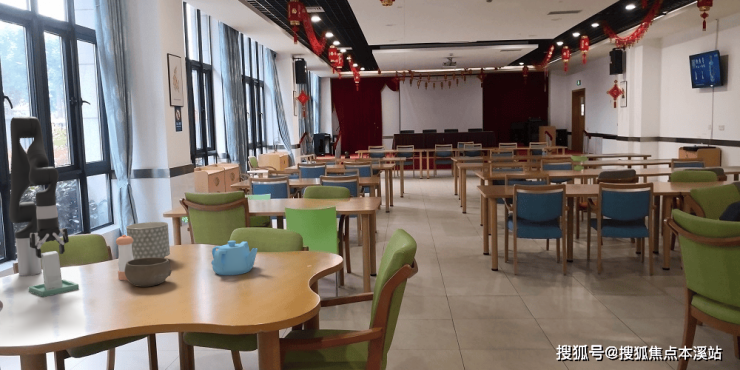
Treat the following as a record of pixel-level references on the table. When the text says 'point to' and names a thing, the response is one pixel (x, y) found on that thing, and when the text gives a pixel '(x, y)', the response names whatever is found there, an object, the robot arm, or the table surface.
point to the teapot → (233, 258)
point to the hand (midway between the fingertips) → (50, 255)
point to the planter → (149, 239)
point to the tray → (43, 292)
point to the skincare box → (51, 270)
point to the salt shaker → (124, 254)
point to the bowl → (147, 271)
